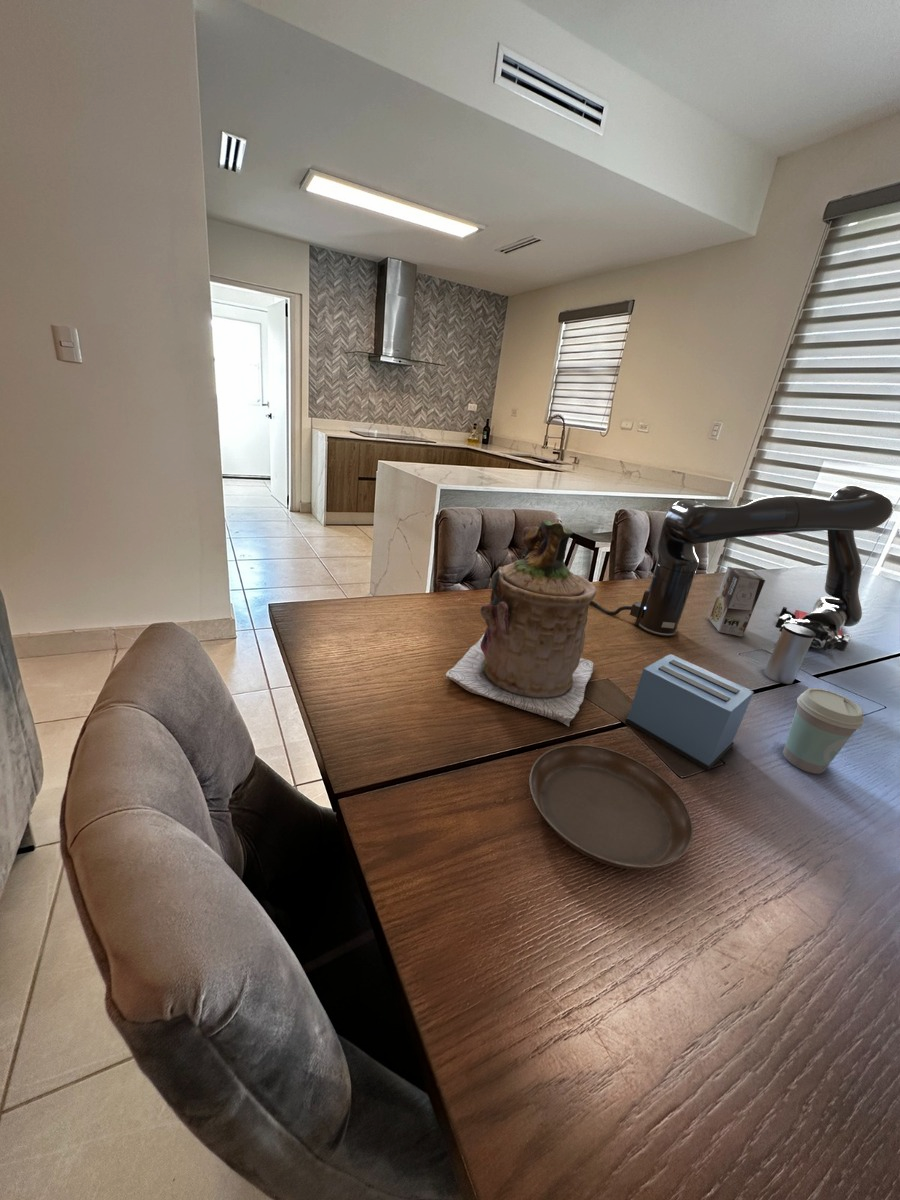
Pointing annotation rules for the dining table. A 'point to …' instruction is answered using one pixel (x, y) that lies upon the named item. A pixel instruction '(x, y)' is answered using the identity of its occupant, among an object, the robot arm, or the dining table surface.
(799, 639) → the canister
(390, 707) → the dining table surface
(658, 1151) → the dining table surface
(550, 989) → the dining table surface
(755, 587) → the coffee box
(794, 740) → the coffee cup
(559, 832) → the plant saucer
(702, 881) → the dining table surface
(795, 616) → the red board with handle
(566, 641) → the cookie jar
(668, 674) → the toaster
